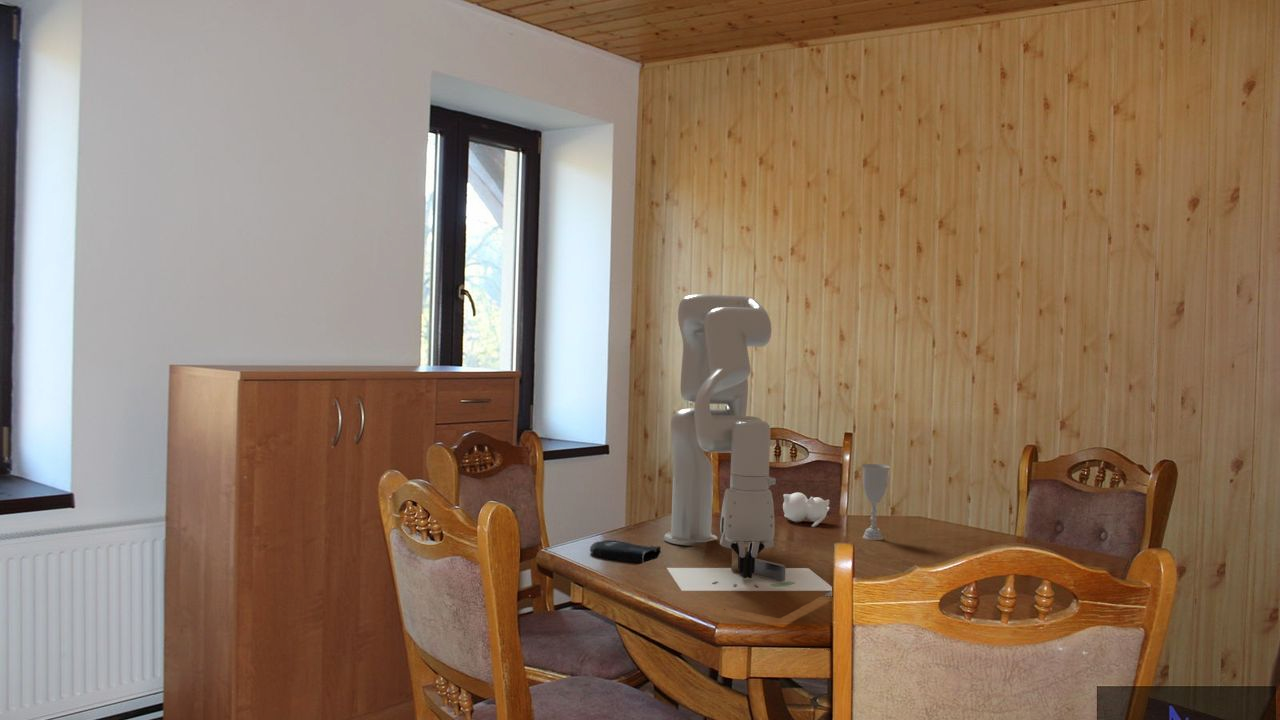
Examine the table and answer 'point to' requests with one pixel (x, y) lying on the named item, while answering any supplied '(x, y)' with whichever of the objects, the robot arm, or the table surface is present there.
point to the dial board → (747, 580)
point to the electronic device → (624, 551)
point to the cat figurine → (805, 508)
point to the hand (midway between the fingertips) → (745, 576)
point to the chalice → (874, 493)
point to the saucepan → (761, 567)
